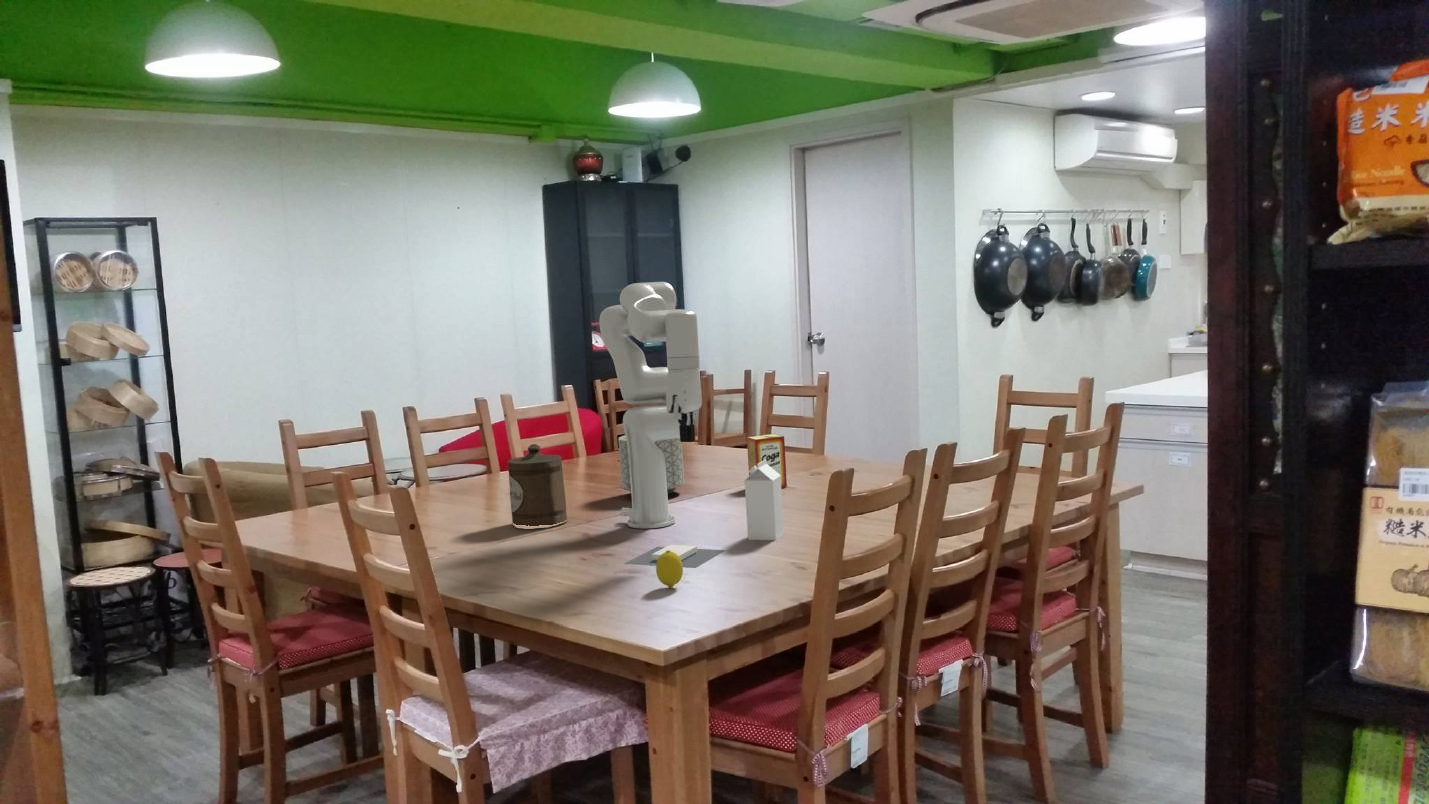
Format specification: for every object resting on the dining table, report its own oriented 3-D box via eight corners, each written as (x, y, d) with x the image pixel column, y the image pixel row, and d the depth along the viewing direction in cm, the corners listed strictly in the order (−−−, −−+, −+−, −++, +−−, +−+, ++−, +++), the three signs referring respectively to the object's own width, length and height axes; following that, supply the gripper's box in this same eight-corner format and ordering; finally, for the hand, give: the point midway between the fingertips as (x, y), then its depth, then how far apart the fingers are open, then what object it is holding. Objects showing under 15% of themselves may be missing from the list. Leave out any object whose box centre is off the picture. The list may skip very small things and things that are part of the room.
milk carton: (784, 535, 268) (779, 459, 266) (776, 542, 261) (771, 464, 259) (756, 535, 270) (752, 459, 268) (747, 541, 264) (743, 464, 262)
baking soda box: (758, 491, 329) (755, 438, 327) (749, 487, 335) (746, 436, 333) (786, 487, 332) (784, 435, 330) (777, 484, 338) (775, 432, 336)
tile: (670, 551, 256) (652, 561, 248) (669, 544, 256) (651, 554, 248) (697, 553, 253) (679, 562, 245) (696, 546, 253) (679, 555, 245)
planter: (683, 499, 322) (679, 438, 320) (619, 503, 323) (615, 442, 321) (686, 487, 341) (682, 430, 339) (625, 491, 342) (621, 433, 340)
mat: (624, 566, 247) (624, 563, 247) (657, 549, 262) (657, 546, 262) (695, 570, 240) (695, 567, 240) (725, 552, 254) (725, 550, 254)
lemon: (657, 585, 229) (654, 548, 228) (683, 583, 230) (680, 546, 229) (657, 592, 224) (655, 554, 223) (684, 590, 224) (682, 552, 223)
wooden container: (514, 520, 306) (508, 443, 304) (567, 516, 308) (562, 439, 306) (510, 531, 292) (504, 450, 289) (566, 527, 293) (560, 446, 291)
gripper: (683, 361, 264) (687, 436, 266) (653, 367, 251) (658, 446, 253) (711, 360, 261) (715, 436, 263) (683, 367, 248) (687, 447, 250)
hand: (687, 441), depth 258 cm, fingers closed
